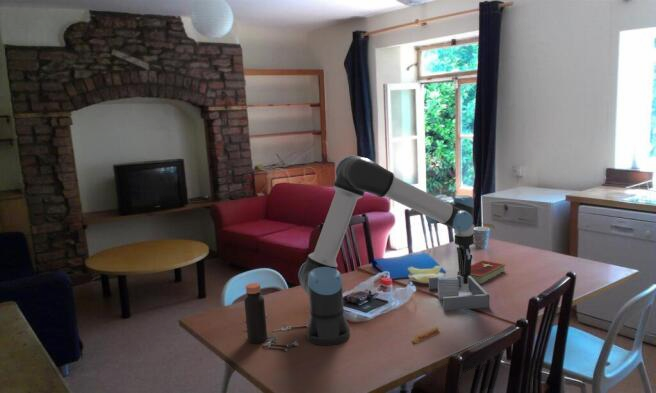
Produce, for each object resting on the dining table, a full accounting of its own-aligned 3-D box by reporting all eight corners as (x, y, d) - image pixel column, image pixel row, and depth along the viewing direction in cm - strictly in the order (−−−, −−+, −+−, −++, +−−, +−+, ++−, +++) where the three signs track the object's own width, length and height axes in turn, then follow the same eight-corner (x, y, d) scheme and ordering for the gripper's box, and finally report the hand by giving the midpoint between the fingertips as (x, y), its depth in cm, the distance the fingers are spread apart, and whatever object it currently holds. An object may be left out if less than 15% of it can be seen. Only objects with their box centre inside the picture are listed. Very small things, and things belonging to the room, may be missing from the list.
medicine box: (457, 295, 204) (456, 275, 202) (459, 300, 199) (458, 279, 198) (437, 296, 205) (437, 276, 203) (439, 300, 200) (438, 279, 199)
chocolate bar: (440, 333, 172) (440, 327, 171) (416, 345, 165) (416, 338, 164) (434, 331, 174) (434, 325, 173) (410, 342, 167) (410, 336, 166)
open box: (489, 307, 190) (489, 295, 190) (444, 310, 190) (443, 298, 189) (469, 285, 214) (469, 274, 214) (429, 288, 214) (428, 277, 213)
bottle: (258, 333, 179) (253, 280, 176) (271, 338, 175) (266, 284, 172) (243, 340, 174) (238, 286, 171) (257, 345, 170) (252, 290, 167)
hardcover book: (457, 279, 224) (457, 270, 224) (482, 267, 238) (481, 259, 238) (481, 285, 216) (481, 275, 215) (505, 272, 229) (505, 264, 229)
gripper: (478, 237, 191) (479, 295, 195) (468, 229, 204) (468, 284, 208) (459, 238, 191) (460, 296, 195) (450, 230, 204) (451, 285, 208)
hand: (464, 290), depth 202 cm, fingers closed
